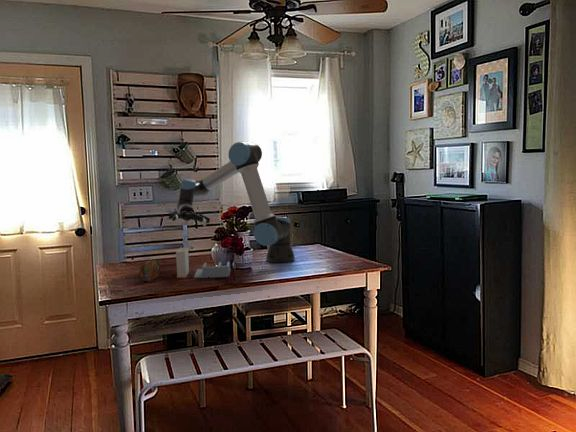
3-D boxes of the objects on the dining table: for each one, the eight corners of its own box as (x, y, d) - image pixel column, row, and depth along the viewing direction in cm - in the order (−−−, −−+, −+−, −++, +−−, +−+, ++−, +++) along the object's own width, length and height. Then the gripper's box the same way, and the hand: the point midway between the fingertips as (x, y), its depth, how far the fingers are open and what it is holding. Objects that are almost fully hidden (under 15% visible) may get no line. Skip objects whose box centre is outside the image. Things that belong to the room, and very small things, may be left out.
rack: (230, 269, 243) (230, 259, 243) (229, 276, 227) (228, 266, 227) (197, 270, 242) (197, 261, 241) (193, 278, 226) (193, 267, 225)
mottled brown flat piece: (145, 283, 219) (144, 264, 218) (139, 283, 219) (138, 264, 219) (161, 275, 233) (160, 258, 233) (154, 275, 234) (153, 257, 233)
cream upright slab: (189, 271, 241) (187, 247, 239) (185, 277, 229) (184, 251, 227) (180, 272, 240) (179, 247, 239) (177, 277, 228) (176, 252, 227)
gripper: (209, 221, 263) (215, 232, 243) (161, 216, 255) (163, 226, 235) (211, 208, 262) (217, 217, 242) (163, 202, 253) (166, 211, 234)
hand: (191, 222), depth 239 cm, fingers open, 13 cm apart
